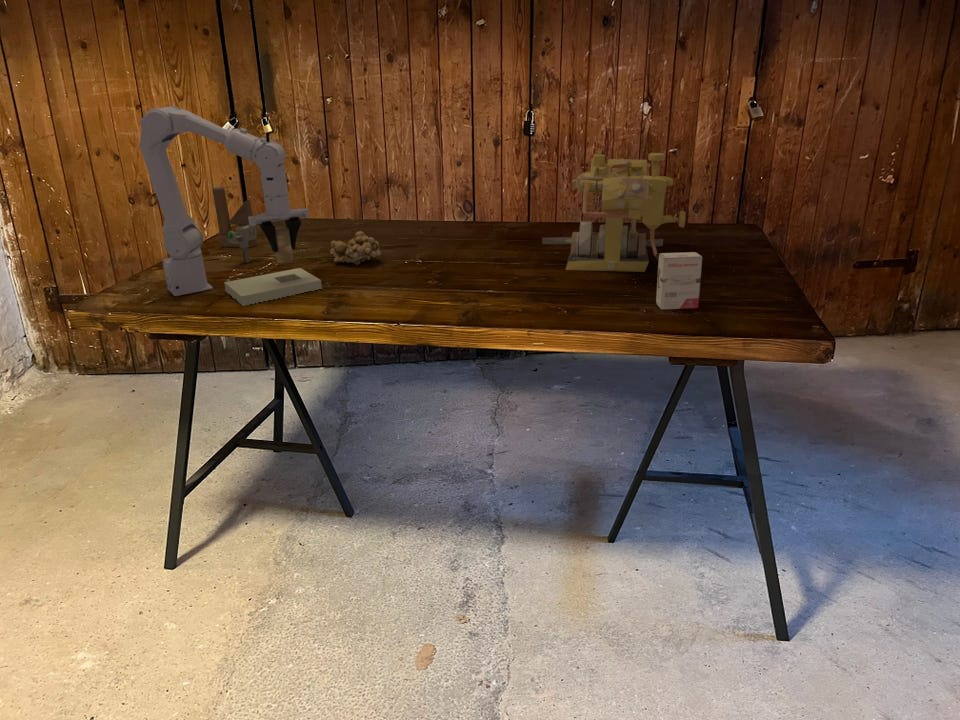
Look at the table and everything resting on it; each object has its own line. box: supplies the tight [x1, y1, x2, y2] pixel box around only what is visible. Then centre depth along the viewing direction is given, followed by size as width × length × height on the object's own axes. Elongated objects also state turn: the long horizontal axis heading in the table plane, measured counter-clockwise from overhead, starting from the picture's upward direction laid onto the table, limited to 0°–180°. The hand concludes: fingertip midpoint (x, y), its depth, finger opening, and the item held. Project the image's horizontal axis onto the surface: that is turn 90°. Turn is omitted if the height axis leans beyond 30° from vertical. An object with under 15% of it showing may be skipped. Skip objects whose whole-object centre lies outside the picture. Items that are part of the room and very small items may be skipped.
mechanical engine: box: [541, 148, 686, 273], centre depth 188 cm, size 39×37×30 cm
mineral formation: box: [329, 230, 382, 266], centre depth 201 cm, size 8×13×15 cm
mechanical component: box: [226, 225, 258, 264], centre depth 204 cm, size 3×10×10 cm, turn 152°
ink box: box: [655, 251, 703, 310], centre depth 160 cm, size 9×5×12 cm, turn 92°
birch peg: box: [275, 227, 294, 264], centre depth 178 cm, size 4×4×8 cm
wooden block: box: [212, 186, 257, 248], centre depth 220 cm, size 4×11×18 cm, turn 83°
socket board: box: [223, 267, 323, 307], centre depth 180 cm, size 20×14×2 cm
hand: (283, 249), depth 179 cm, fingers closed on birch peg, 4 cm apart
